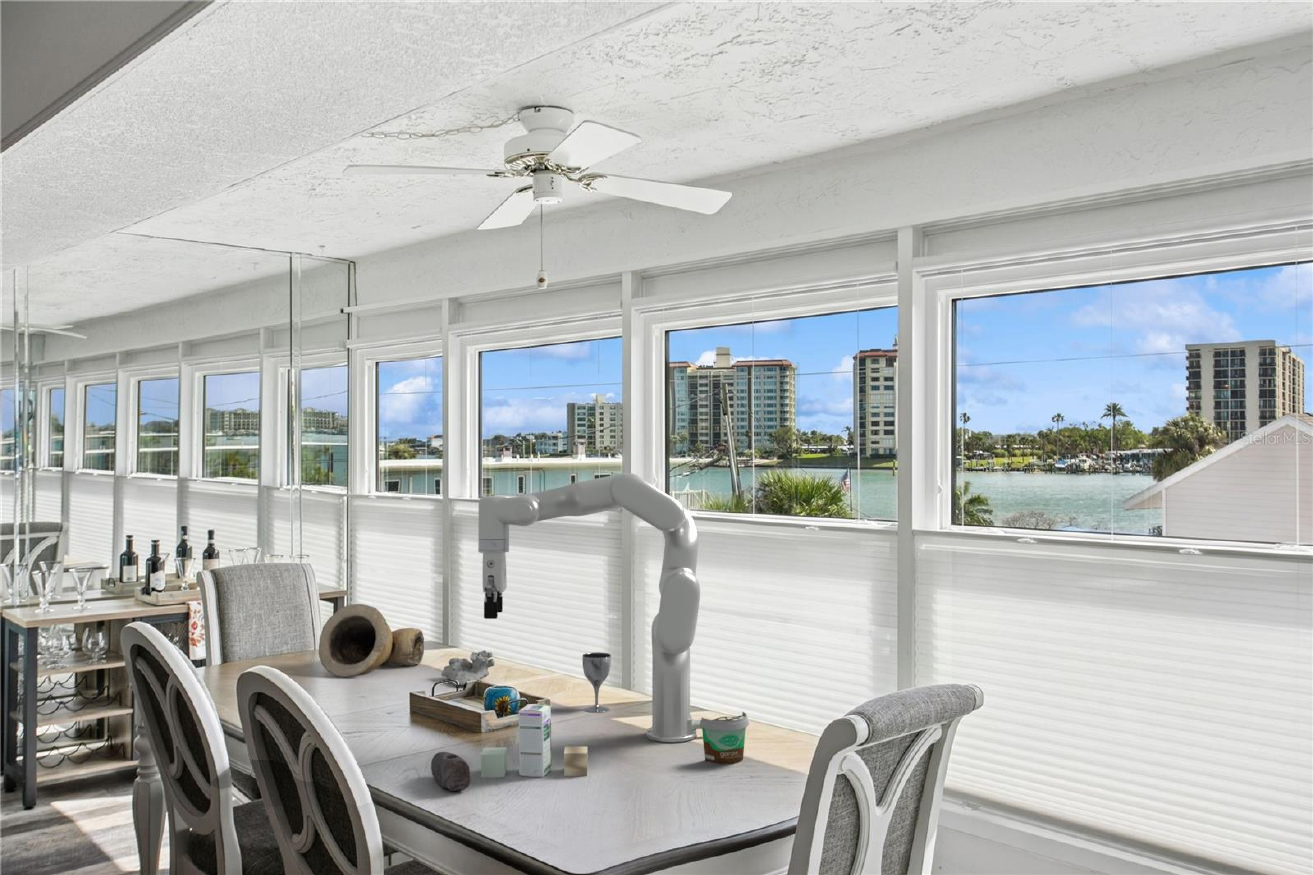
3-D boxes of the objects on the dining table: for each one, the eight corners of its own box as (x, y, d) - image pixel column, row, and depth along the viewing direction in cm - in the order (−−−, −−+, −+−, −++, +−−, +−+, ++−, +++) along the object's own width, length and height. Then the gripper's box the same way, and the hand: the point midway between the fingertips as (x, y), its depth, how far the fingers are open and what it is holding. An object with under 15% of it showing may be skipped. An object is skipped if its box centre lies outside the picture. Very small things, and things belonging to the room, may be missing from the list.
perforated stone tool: (423, 778, 210) (423, 745, 210) (446, 773, 213) (446, 742, 213) (448, 798, 198) (449, 764, 198) (472, 793, 200) (473, 759, 201)
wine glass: (577, 711, 266) (577, 656, 266) (590, 704, 273) (590, 651, 273) (603, 714, 263) (603, 658, 263) (615, 707, 270) (615, 653, 270)
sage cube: (506, 770, 215) (506, 747, 215) (504, 777, 210) (504, 754, 210) (484, 770, 215) (484, 748, 215) (481, 777, 210) (481, 754, 210)
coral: (500, 683, 300) (500, 651, 300) (462, 690, 291) (462, 657, 291) (470, 674, 312) (470, 643, 312) (433, 680, 303) (433, 648, 303)
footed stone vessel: (424, 688, 331) (402, 676, 303) (340, 687, 332) (310, 675, 304) (430, 620, 340) (409, 602, 312) (348, 619, 340) (320, 602, 312)
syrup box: (543, 777, 210) (543, 710, 210) (517, 776, 211) (518, 709, 211) (551, 769, 215) (552, 704, 216) (526, 768, 217) (526, 703, 217)
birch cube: (587, 768, 216) (587, 746, 216) (586, 776, 211) (586, 753, 211) (565, 769, 216) (565, 746, 216) (564, 776, 211) (564, 753, 211)
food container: (713, 769, 216) (713, 724, 216) (699, 761, 221) (699, 717, 222) (759, 761, 222) (759, 717, 222) (744, 754, 227) (744, 711, 227)
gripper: (504, 549, 231) (504, 621, 230) (512, 543, 248) (512, 609, 247) (473, 549, 230) (472, 621, 230) (483, 543, 248) (483, 610, 247)
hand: (493, 615), depth 239 cm, fingers open, 9 cm apart
